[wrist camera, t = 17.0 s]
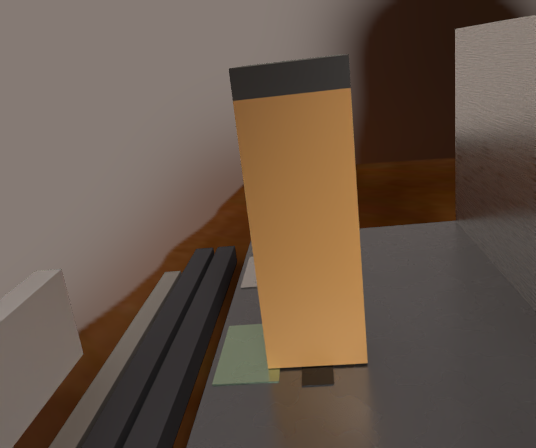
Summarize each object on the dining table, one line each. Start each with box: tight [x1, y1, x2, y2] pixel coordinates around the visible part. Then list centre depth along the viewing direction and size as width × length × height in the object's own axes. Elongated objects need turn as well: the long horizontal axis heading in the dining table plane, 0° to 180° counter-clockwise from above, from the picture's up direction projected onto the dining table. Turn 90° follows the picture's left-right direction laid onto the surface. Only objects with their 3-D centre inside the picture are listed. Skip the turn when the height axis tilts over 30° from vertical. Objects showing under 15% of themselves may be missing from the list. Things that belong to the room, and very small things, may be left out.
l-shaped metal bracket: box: [186, 15, 536, 448], centre depth 26 cm, size 26×17×16 cm, turn 176°
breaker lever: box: [229, 55, 368, 369], centre depth 23 cm, size 5×4×13 cm
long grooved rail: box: [49, 246, 237, 448], centre depth 30 cm, size 26×5×1 cm, turn 176°
